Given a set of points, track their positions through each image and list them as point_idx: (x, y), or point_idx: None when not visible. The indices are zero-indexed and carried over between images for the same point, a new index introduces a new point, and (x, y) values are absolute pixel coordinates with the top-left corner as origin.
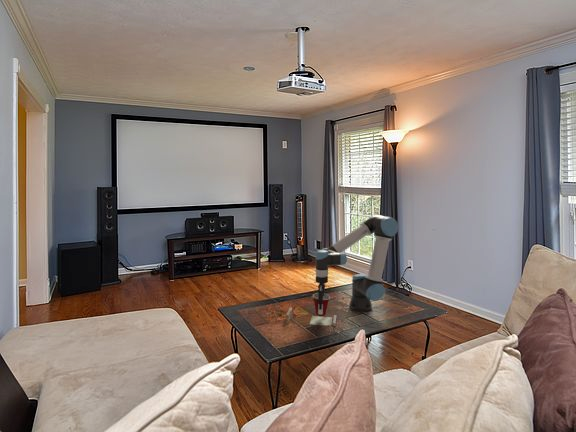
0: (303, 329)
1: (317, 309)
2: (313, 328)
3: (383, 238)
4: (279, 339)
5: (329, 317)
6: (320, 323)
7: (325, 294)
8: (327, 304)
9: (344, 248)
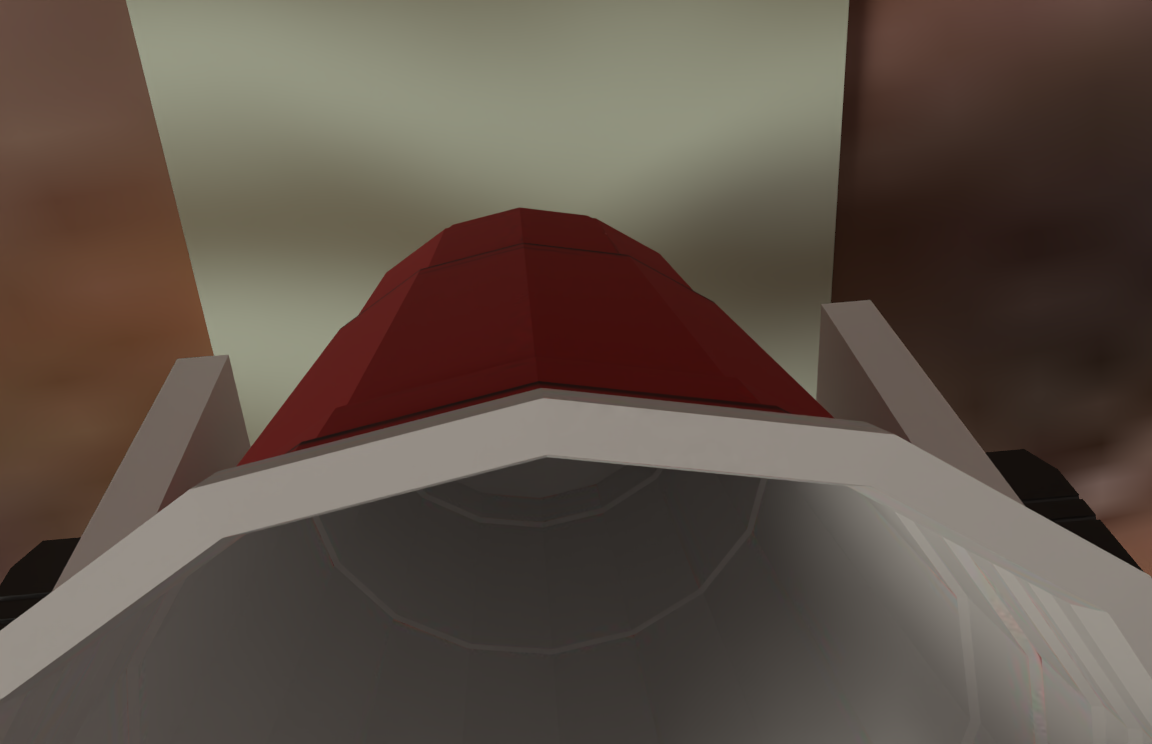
0: (1117, 534)
1: (759, 580)
2: (1053, 346)
3: None
4: None
5: (159, 47)
6: (742, 238)
7: None
8: (572, 316)
9: None
